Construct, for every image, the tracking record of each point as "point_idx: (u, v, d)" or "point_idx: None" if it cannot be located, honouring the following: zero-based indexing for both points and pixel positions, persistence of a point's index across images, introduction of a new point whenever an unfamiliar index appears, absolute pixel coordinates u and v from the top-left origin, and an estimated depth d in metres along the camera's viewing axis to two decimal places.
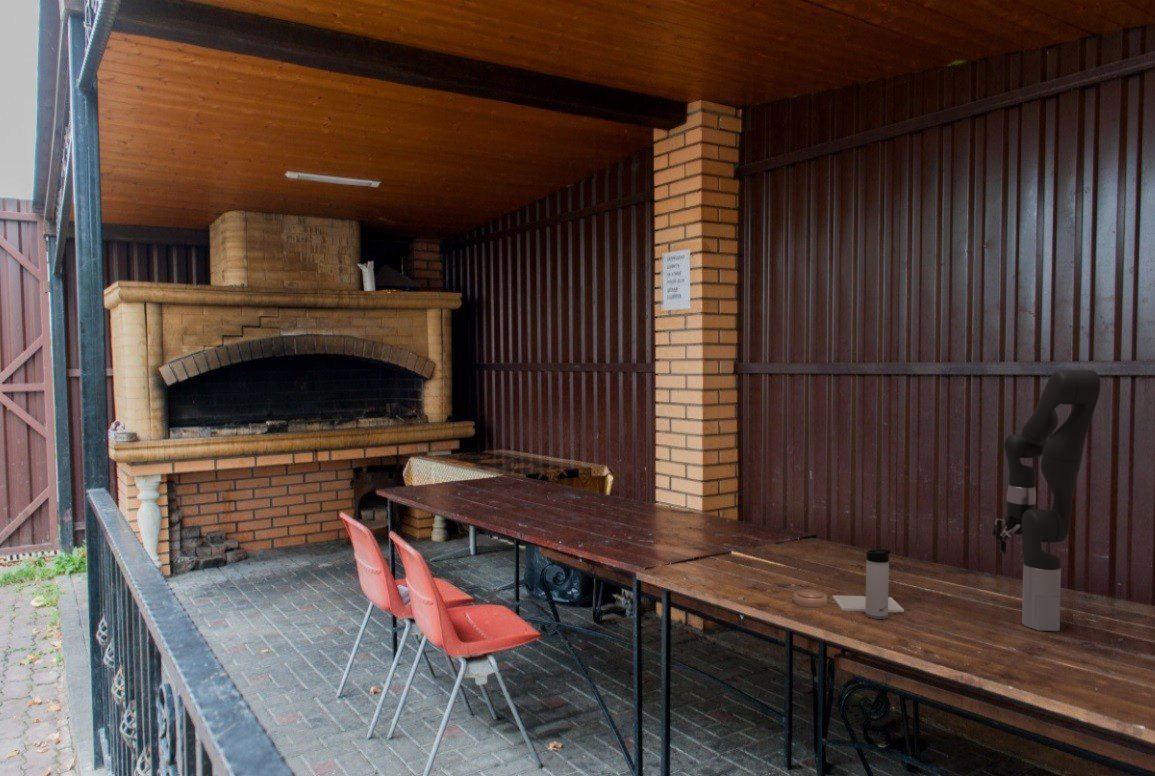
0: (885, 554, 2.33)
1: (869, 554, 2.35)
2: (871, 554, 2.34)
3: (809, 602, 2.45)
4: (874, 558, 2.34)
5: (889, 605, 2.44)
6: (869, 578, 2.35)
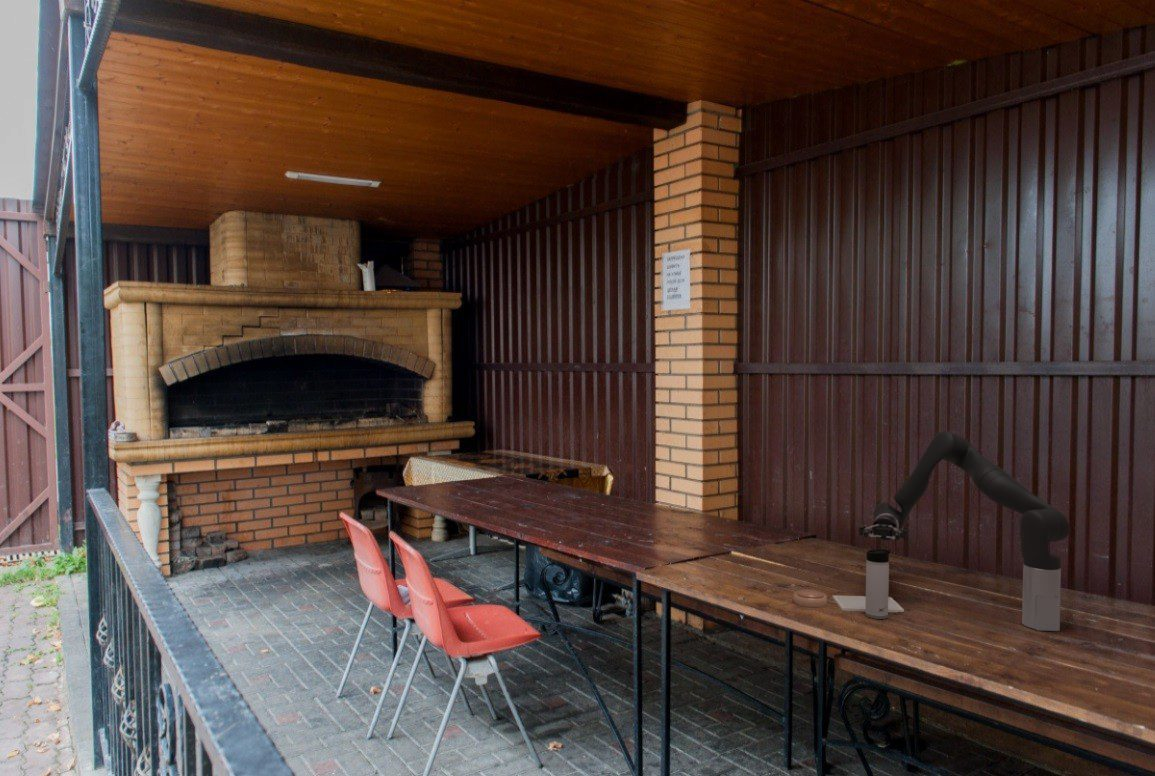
0: (885, 554, 2.33)
1: (869, 554, 2.35)
2: (871, 554, 2.34)
3: (809, 602, 2.45)
4: (874, 558, 2.34)
5: (889, 605, 2.44)
6: (869, 578, 2.35)
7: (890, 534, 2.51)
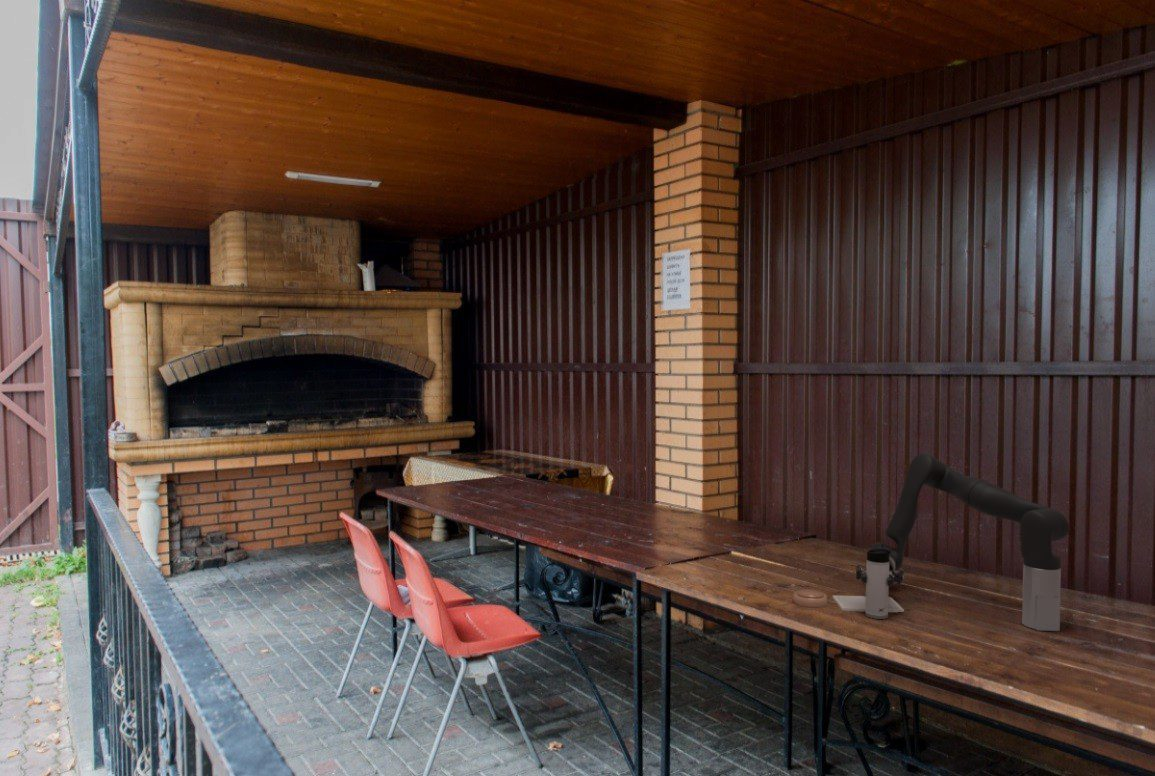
0: (885, 554, 2.33)
1: (869, 554, 2.35)
2: (871, 554, 2.34)
3: (809, 602, 2.45)
4: (875, 558, 2.34)
5: (889, 605, 2.44)
6: (869, 578, 2.35)
7: None
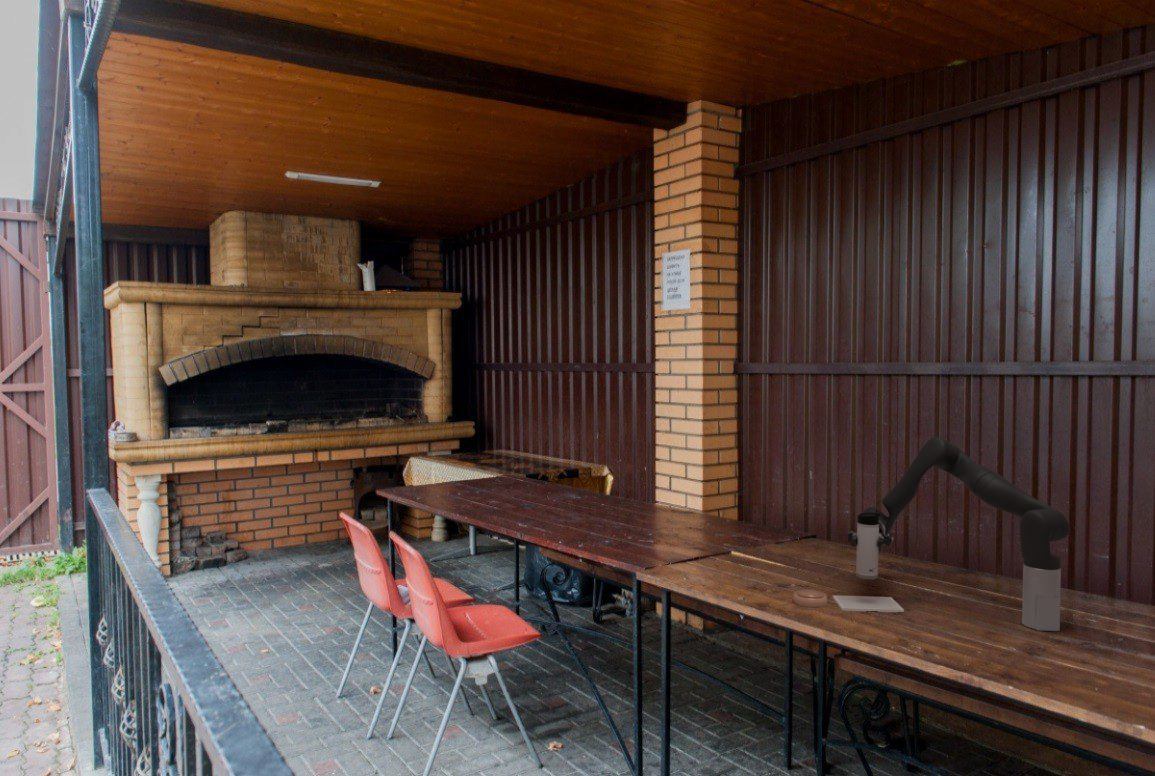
0: (875, 517, 2.44)
1: (860, 517, 2.45)
2: (862, 517, 2.45)
3: (809, 602, 2.45)
4: (865, 521, 2.44)
5: (889, 605, 2.44)
6: (860, 540, 2.45)
7: None
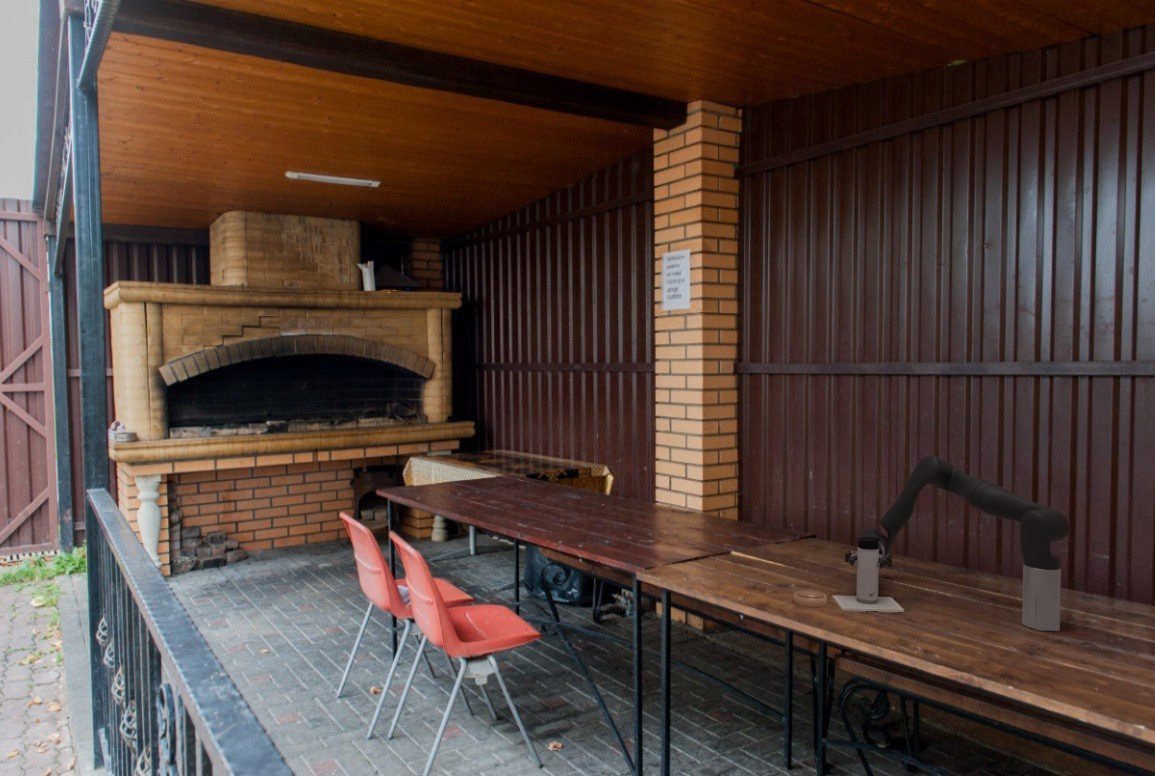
0: (875, 541, 2.45)
1: (860, 541, 2.47)
2: (862, 541, 2.46)
3: (809, 602, 2.45)
4: (865, 545, 2.46)
5: (889, 605, 2.44)
6: (860, 564, 2.47)
7: None
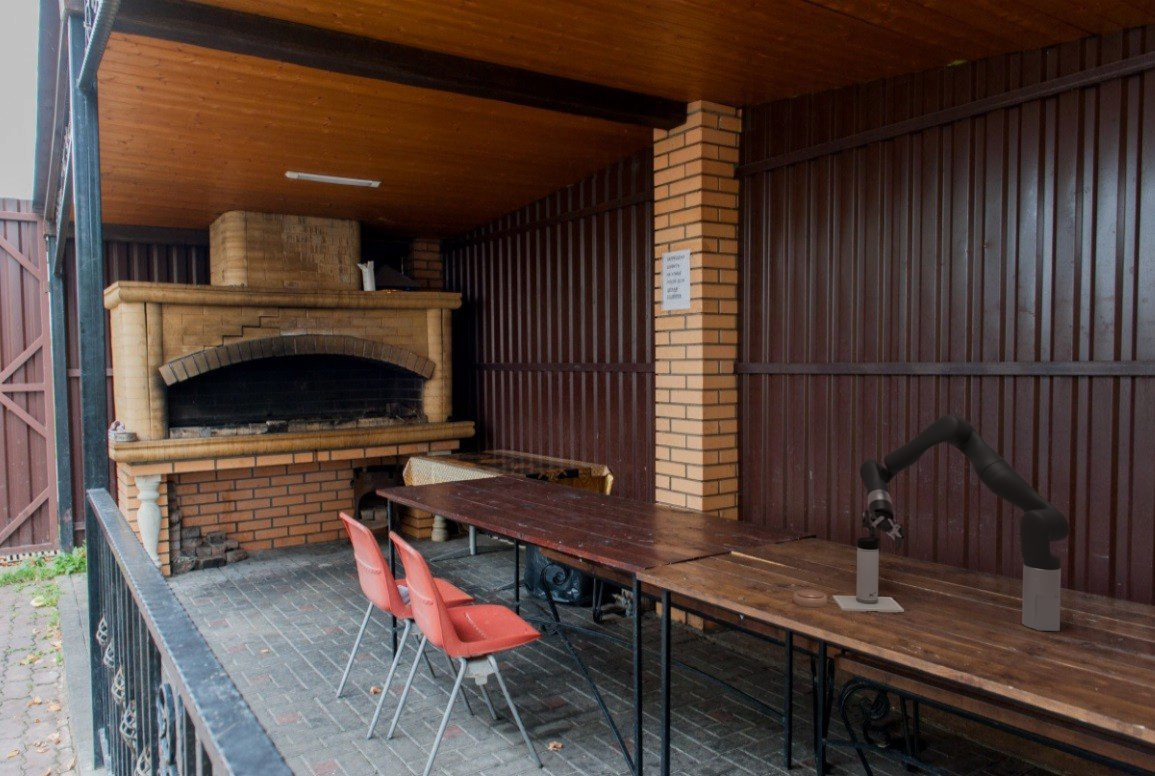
0: (875, 541, 2.45)
1: (860, 542, 2.47)
2: (862, 542, 2.46)
3: (809, 602, 2.45)
4: (865, 546, 2.46)
5: (889, 605, 2.44)
6: (860, 564, 2.47)
7: (888, 531, 2.60)
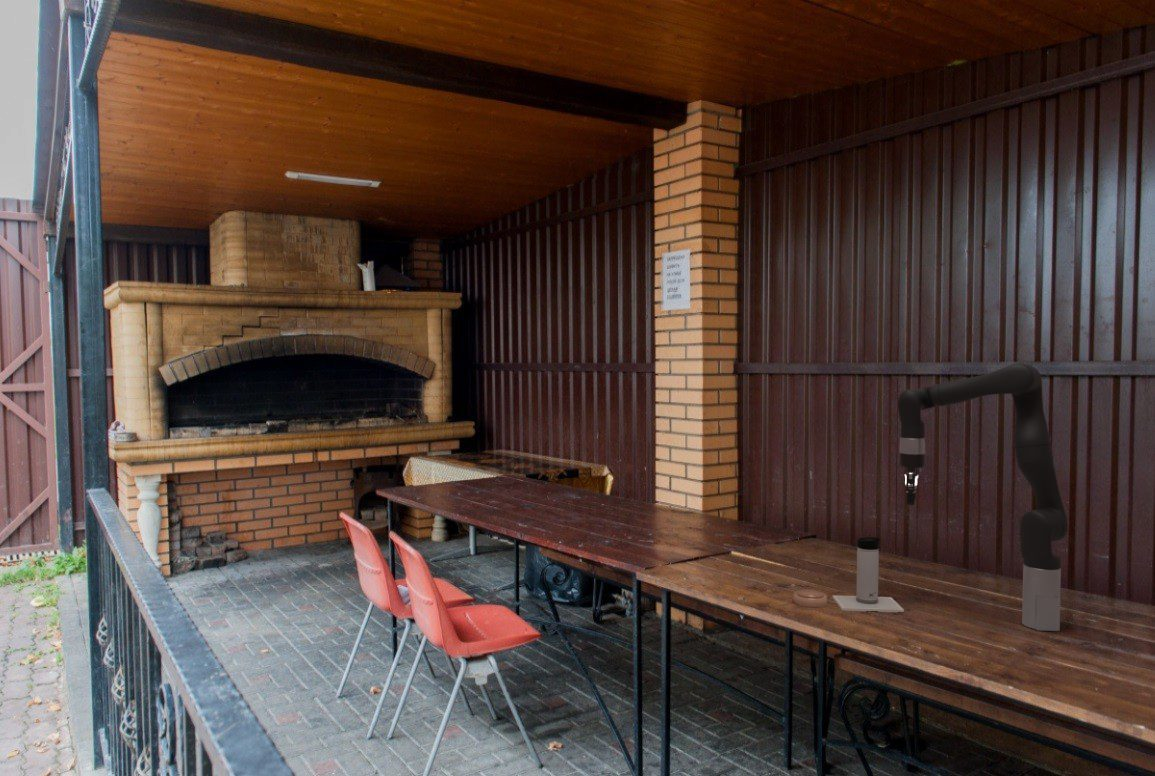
0: (875, 541, 2.45)
1: (860, 542, 2.47)
2: (862, 542, 2.46)
3: (809, 602, 2.45)
4: (865, 546, 2.46)
5: (889, 605, 2.44)
6: (860, 564, 2.47)
7: None
